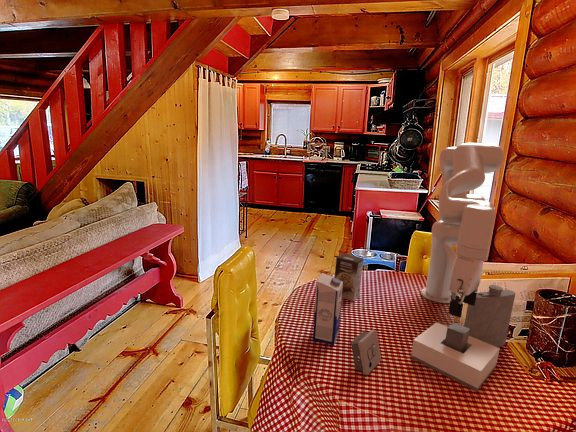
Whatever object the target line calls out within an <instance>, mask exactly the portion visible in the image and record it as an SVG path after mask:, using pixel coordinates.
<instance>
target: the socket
mask: <svg viewBox="0 0 576 432" xmlns="http://www.w3.org/2000/svg"><path fill="white" fill-rule="evenodd" d="M447 327H448V326H447V325H444V324H442V323H439V322H435V323H433V324H432V325H431V326H430V327H429V328H427V329H426V330H424V331H423V332H422V333H421V334H419V335H418V336H416V337H415V338H413V340H412V341H413V343H412V347H411V348H412V349H411V356H410V358H411V359H412V360H413V361H416V362H418V363H420V364H422V365H424V366H425V367H427V368H430V369H432V370H433V371H436V372H437V373H439V374H441V375H443V376H446V377H447V378H449V379H451V380H453V381H454V382H457V383H459V384H460V385H462V386H465V387H466V388H469V389H471V390H473V391H474V392H476V393H477V392H478V391H479V390H480V388H482V385H483V384H485V382H486V381H487V379H488V378H489V376H490V375H491V374H492V373H493V372H494V370H495V369H496V368H497V363H498V360H499V353H500V348H501V347H495V346H493V345H490V344H488V343H486V342H483V341H481V340H478V339H476V338H473V337H471V336H469V337H468V342H467V348H466V352H465V353H464V354H463V353H461V352H459V351H456V350H454V349H452V348H450V347H448V346H445V339H446V333H447Z"/></svg>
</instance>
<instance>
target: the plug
mask: <svg viewBox="0 0 576 432" xmlns="http://www.w3.org/2000/svg"><path fill="white" fill-rule="evenodd" d="M469 331H470V329H469V328H467V327H464V325H461V324H460V323H457V322H453V323H451V324H450V325H449V326H447V333H446V339H445V346H448V347H450V348H452V349H454V350H456V351H459V352H461V353H463V354H464V353H465V352H466V348H467V342H468V337H469Z"/></svg>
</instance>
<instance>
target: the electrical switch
mask: <svg viewBox="0 0 576 432" xmlns="http://www.w3.org/2000/svg"><path fill="white" fill-rule="evenodd" d="M350 347H351V352H352V358H353V363H354V369H355V370H357V371H360V372H362V374H363V375H364V376H368V375H369V374H370V373H371V372H373V370H374V368H376V367H377V366H378V364H380V362H381V361H382V357H381V356H382V354H381V351H380V345H379V338H378V332H377V330H376V329H371V330H370V331H362V332H361V333H360V334H359V335H357V336H356V337H355V338H354V339H353V340H352V341H351V342H350Z"/></svg>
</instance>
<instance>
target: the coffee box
mask: <svg viewBox="0 0 576 432" xmlns="http://www.w3.org/2000/svg"><path fill="white" fill-rule="evenodd" d="M363 264H364V258H363V257H359V256H355V255H351V254H347V253H341V254H339V255H338V256H336V259H335V267H334V268H335V270H334V271H335V272H334V278H336V279H338V280H340V281H342V282H343V287H342V299H345V300H348V301H352V302H355V301H356V300H357V299H358V298H359V297H360V292H361V291H360V290H361V286H362V285H361V283H362V282H361V281H362V274H363Z"/></svg>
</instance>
